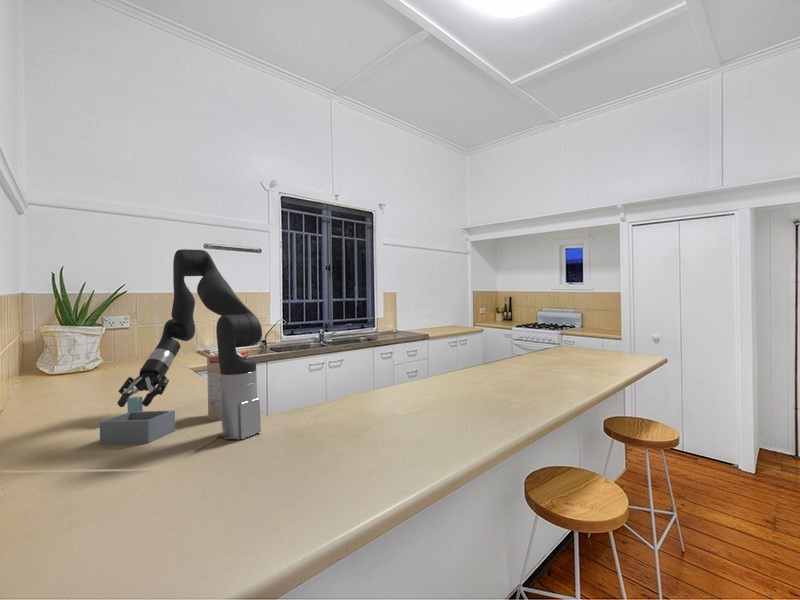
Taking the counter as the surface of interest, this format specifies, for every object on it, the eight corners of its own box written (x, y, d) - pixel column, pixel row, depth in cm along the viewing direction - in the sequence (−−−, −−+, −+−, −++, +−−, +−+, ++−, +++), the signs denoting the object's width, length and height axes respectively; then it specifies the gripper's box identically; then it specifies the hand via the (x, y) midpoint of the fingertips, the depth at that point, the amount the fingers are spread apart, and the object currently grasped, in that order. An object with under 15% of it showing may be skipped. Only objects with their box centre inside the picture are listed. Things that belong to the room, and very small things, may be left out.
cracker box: (224, 422, 117) (221, 355, 117) (207, 421, 118) (205, 355, 118) (251, 410, 130) (248, 350, 131) (235, 410, 131) (233, 351, 132)
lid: (181, 419, 125) (180, 392, 125) (157, 429, 114) (156, 400, 114) (140, 420, 126) (139, 394, 126) (112, 430, 115) (111, 402, 115)
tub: (175, 433, 107) (174, 410, 108) (148, 445, 98) (148, 420, 98) (130, 434, 109) (130, 411, 109) (100, 446, 99) (99, 421, 99)
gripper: (132, 358, 129) (104, 399, 117) (171, 357, 128) (146, 398, 116) (145, 371, 134) (119, 412, 122) (182, 370, 133) (159, 411, 121)
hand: (132, 405), depth 119 cm, fingers open, 8 cm apart
